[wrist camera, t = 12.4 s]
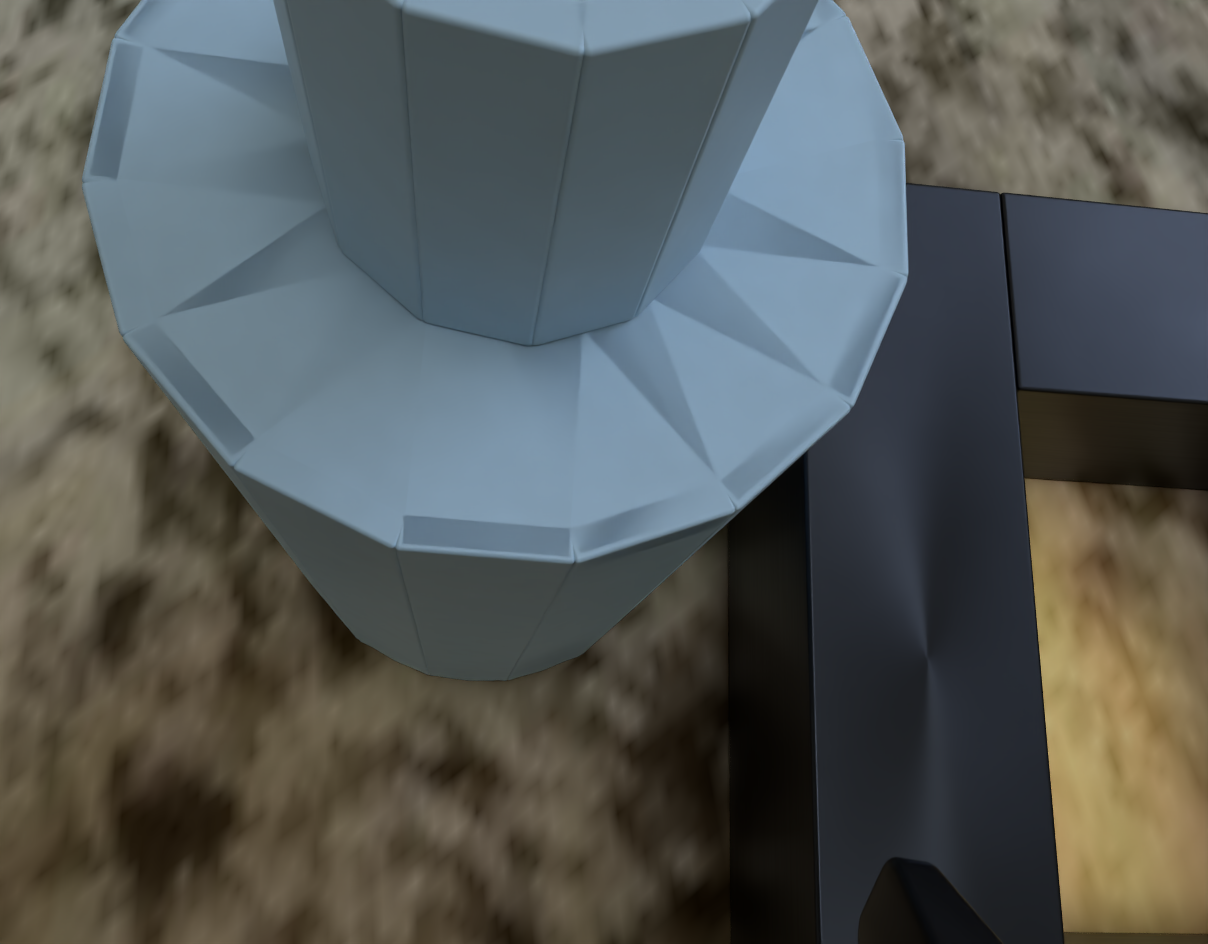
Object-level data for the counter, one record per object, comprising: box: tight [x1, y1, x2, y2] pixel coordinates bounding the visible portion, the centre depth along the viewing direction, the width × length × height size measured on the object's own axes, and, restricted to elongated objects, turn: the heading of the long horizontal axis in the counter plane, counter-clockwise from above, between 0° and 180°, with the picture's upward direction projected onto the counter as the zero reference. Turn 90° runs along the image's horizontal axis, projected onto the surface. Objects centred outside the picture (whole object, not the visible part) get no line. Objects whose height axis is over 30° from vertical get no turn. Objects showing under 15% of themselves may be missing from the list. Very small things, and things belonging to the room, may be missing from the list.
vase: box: [82, 0, 908, 681], centre depth 12 cm, size 7×7×14 cm
